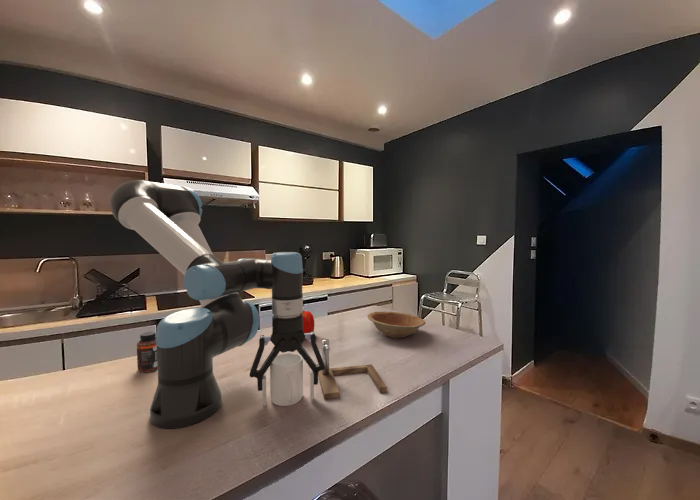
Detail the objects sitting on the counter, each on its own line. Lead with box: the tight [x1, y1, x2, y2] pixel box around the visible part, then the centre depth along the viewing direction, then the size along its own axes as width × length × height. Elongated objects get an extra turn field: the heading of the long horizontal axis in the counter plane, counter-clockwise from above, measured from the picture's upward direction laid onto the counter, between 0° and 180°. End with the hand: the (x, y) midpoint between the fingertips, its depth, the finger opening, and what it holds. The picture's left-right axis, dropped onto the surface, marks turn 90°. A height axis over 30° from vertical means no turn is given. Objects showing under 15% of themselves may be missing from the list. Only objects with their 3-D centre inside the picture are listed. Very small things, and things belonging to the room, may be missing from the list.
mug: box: [269, 352, 304, 407], centre depth 77 cm, size 12×8×10 cm
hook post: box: [321, 338, 331, 375], centre depth 87 cm, size 2×6×10 cm, turn 13°
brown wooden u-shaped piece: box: [318, 363, 388, 400], centre depth 87 cm, size 17×14×2 cm
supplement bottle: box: [136, 331, 158, 373], centre depth 95 cm, size 6×6×11 cm
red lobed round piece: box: [301, 310, 315, 340], centre depth 123 cm, size 14×13×10 cm
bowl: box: [367, 311, 426, 339], centre depth 127 cm, size 24×24×8 cm
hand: (288, 399), depth 77 cm, fingers open, 11 cm apart
